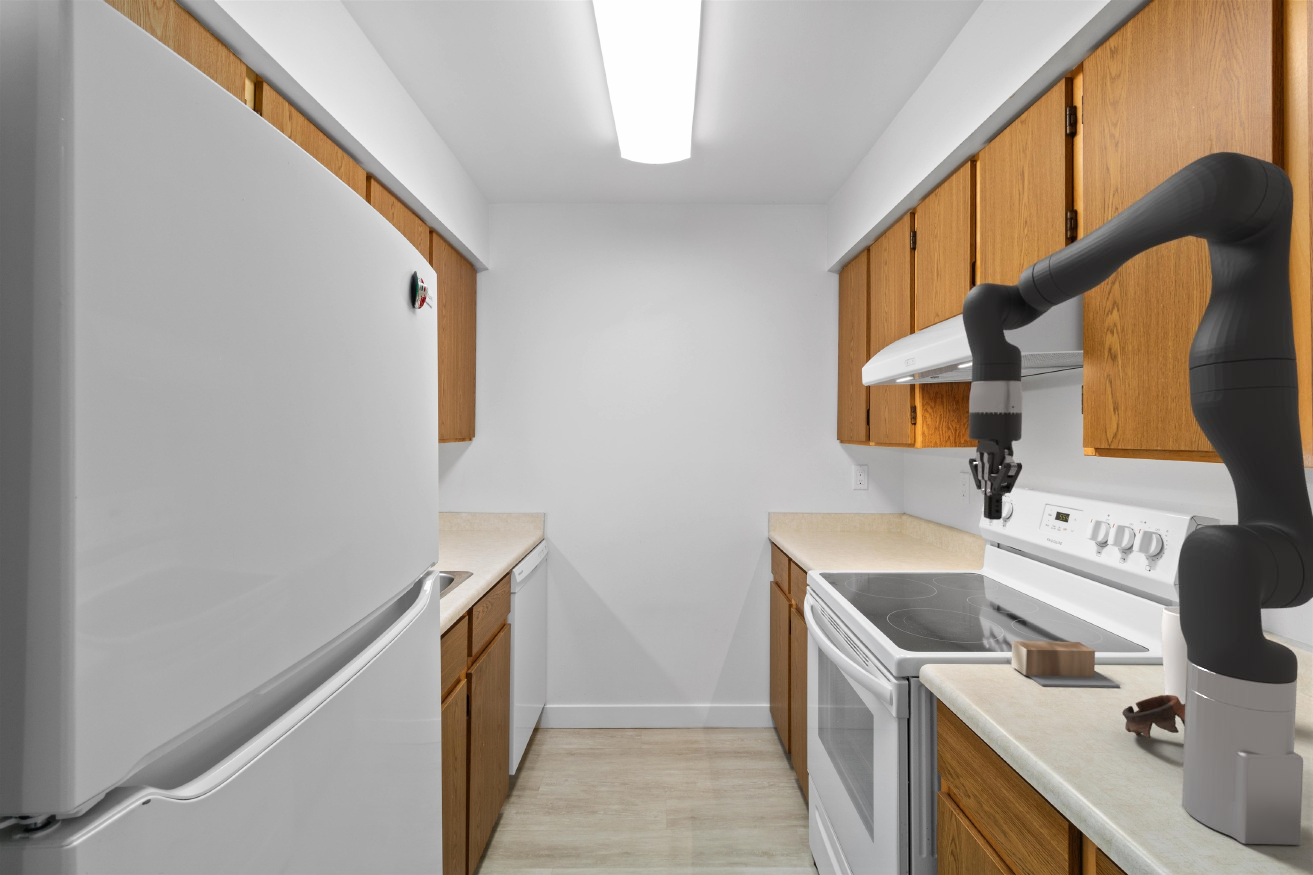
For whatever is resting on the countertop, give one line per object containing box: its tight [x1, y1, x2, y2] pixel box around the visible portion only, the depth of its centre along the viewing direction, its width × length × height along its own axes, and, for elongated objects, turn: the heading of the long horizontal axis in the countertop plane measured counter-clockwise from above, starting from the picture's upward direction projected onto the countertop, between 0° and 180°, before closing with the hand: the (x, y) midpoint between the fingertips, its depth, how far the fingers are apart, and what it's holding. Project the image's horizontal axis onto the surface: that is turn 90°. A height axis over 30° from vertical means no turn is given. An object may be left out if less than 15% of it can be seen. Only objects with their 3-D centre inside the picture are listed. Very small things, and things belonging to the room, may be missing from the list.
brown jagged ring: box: [1121, 694, 1185, 739], centre depth 91 cm, size 12×10×8 cm
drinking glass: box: [1160, 605, 1187, 704], centre depth 104 cm, size 7×7×15 cm
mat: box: [1006, 659, 1121, 689], centre depth 117 cm, size 12×13×1 cm
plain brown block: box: [1010, 640, 1096, 676], centre depth 117 cm, size 4×4×12 cm
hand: (992, 518), depth 105 cm, fingers closed
